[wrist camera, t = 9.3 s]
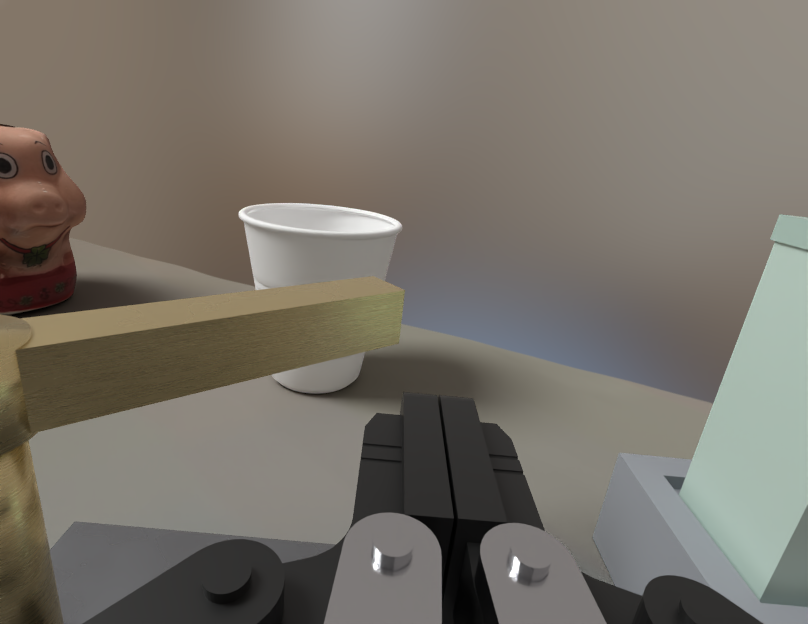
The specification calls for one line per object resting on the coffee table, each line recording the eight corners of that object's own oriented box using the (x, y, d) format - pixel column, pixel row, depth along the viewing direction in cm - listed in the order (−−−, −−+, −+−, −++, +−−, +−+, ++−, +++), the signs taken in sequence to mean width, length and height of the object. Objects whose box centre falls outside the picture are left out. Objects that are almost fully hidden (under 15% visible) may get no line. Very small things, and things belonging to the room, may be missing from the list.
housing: (953, 771, 14) (1040, 667, 13) (692, 751, 14) (748, 643, 12) (763, 552, 22) (803, 470, 20) (592, 537, 21) (619, 452, 20)
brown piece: (-56, 737, 11) (-181, 385, 8) (-53, 637, 13) (-151, 325, 10) (388, 505, 19) (415, 291, 16) (349, 466, 21) (365, 269, 18)
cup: (409, 400, 31) (430, 234, 27) (251, 423, 27) (251, 231, 23) (358, 340, 39) (369, 206, 36) (232, 350, 35) (229, 199, 31)
